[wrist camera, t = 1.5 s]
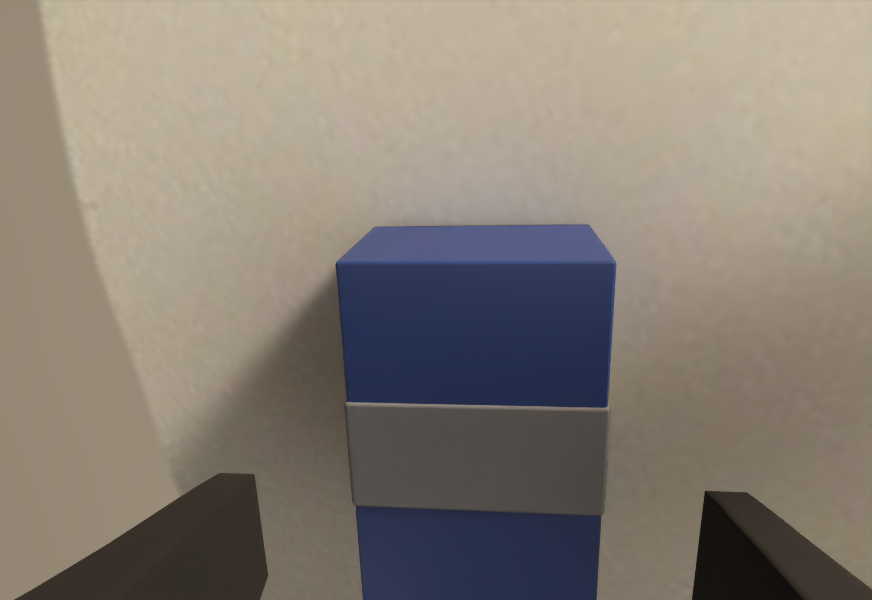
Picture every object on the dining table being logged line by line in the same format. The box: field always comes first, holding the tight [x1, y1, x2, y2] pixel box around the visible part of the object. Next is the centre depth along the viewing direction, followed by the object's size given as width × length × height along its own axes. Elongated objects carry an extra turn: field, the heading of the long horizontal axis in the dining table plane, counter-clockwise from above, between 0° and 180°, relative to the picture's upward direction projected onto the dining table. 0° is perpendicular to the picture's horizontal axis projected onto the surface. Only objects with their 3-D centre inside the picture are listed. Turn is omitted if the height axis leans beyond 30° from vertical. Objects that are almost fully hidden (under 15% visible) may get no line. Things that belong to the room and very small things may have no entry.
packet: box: [336, 225, 616, 600], centre depth 14 cm, size 8×5×4 cm, turn 2°
